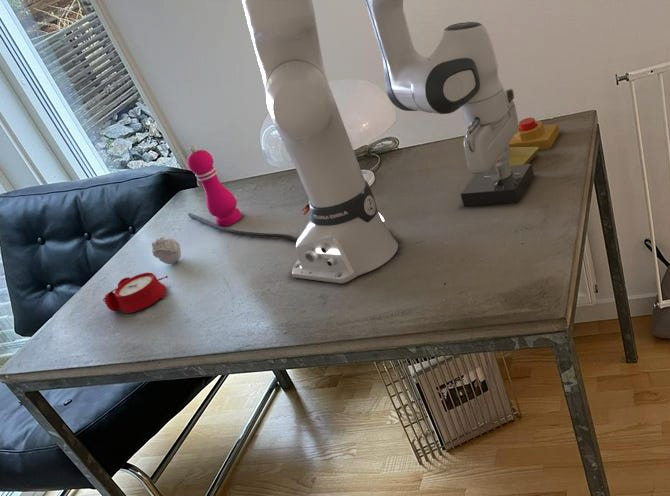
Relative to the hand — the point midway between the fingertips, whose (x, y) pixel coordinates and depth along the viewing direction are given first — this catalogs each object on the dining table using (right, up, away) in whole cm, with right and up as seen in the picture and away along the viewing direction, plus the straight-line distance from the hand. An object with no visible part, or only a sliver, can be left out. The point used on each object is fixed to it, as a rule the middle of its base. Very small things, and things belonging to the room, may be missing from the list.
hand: (501, 173), depth 153 cm
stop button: (+7, +14, +15) cm, 22 cm away
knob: (0, 0, 0) cm, 1 cm away
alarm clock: (-79, -25, +11) cm, 84 cm away
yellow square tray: (+4, +4, +10) cm, 12 cm away
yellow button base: (+8, +11, +17) cm, 22 cm away
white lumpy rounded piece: (-75, -16, +22) cm, 80 cm away
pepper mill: (-65, -4, +33) cm, 73 cm away
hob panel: (0, -3, +2) cm, 4 cm away
